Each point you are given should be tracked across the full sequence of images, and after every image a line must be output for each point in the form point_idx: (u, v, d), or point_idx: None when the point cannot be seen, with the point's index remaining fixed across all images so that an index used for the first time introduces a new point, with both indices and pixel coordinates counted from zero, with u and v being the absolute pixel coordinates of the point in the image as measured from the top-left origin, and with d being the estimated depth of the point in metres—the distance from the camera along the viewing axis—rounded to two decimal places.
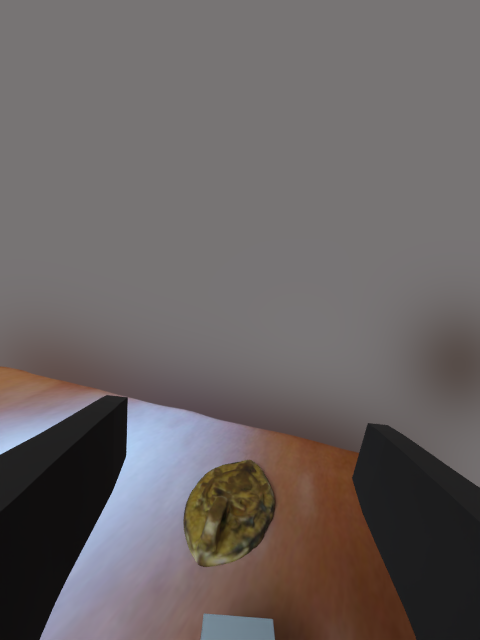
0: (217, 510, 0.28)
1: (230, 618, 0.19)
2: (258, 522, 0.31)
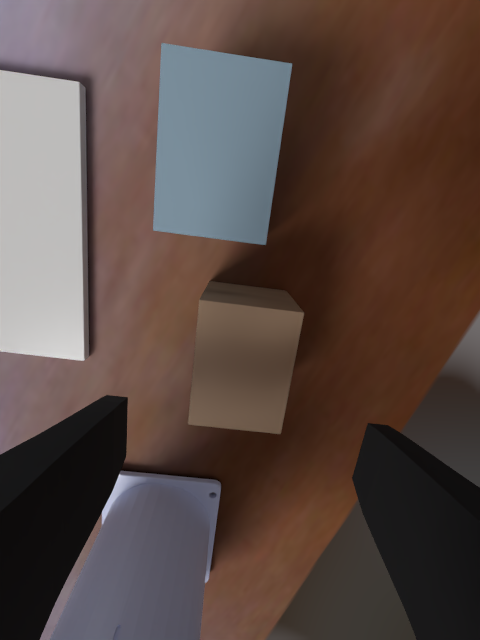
0: None
1: (213, 54, 0.10)
2: None
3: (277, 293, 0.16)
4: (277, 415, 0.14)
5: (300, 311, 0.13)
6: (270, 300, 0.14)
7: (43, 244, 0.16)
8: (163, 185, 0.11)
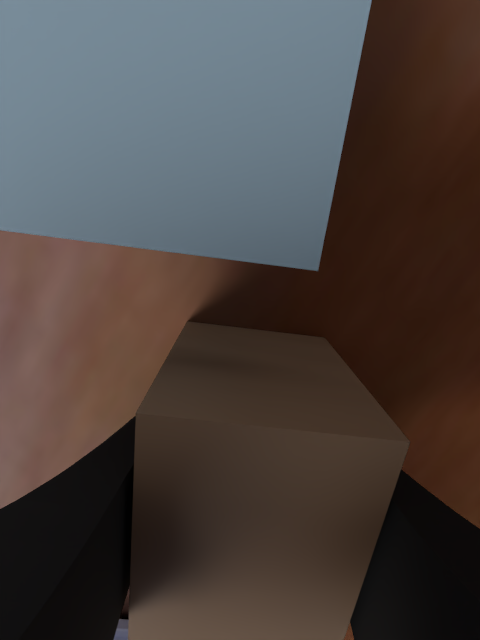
0: None
1: None
2: None
3: (314, 351, 0.08)
4: None
5: (396, 433, 0.05)
6: (310, 384, 0.06)
7: None
8: (5, 87, 0.04)
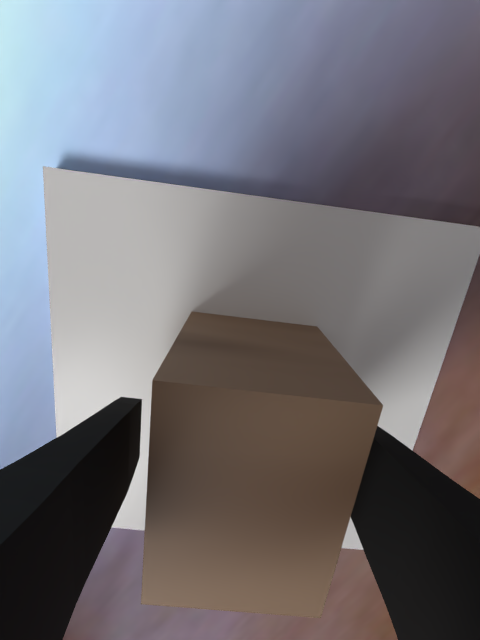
0: None
1: None
2: None
3: (307, 337, 0.09)
4: (316, 588, 0.07)
5: (372, 399, 0.06)
6: (301, 362, 0.07)
7: None
8: None
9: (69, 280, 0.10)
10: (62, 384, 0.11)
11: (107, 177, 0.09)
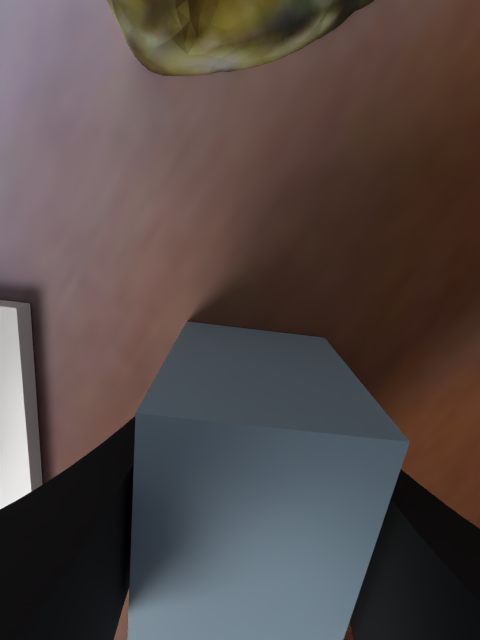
0: None
1: (244, 417, 0.05)
2: None
3: None
4: None
5: None
6: None
7: None
8: (144, 606, 0.06)
9: None
10: None
11: None
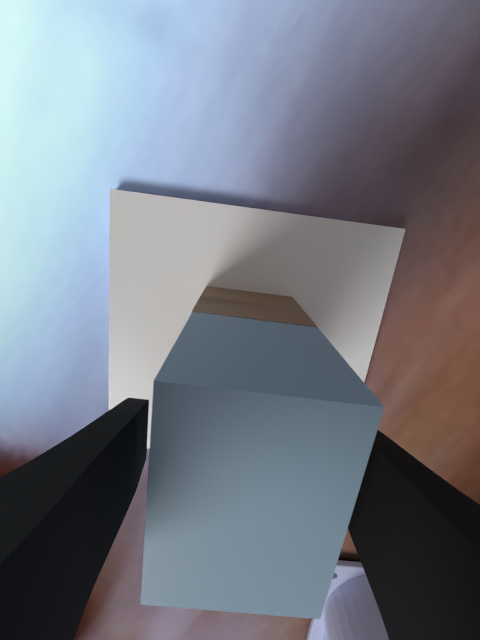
0: None
1: (245, 386, 0.06)
2: None
3: (283, 301, 0.14)
4: None
5: (312, 324, 0.11)
6: (276, 310, 0.12)
7: None
8: (157, 554, 0.07)
9: (123, 264, 0.15)
10: (115, 338, 0.16)
11: (152, 195, 0.14)
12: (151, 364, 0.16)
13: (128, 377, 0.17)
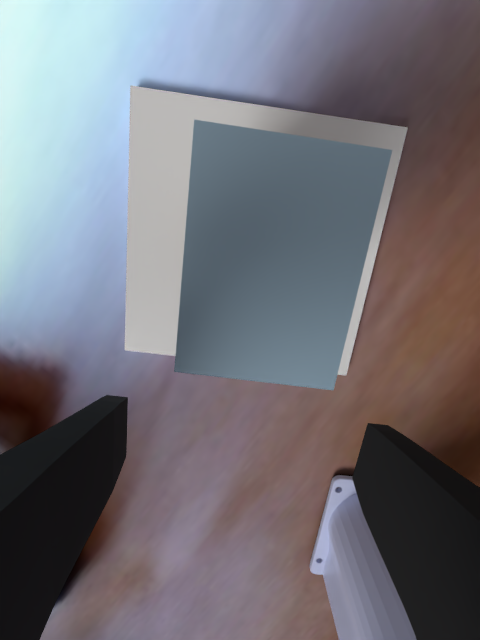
0: None
1: (272, 134, 0.07)
2: None
3: None
4: None
5: None
6: None
7: None
8: (190, 314, 0.08)
9: (142, 163, 0.16)
10: (132, 239, 0.17)
11: (169, 92, 0.15)
12: (166, 267, 0.17)
13: (145, 280, 0.17)
